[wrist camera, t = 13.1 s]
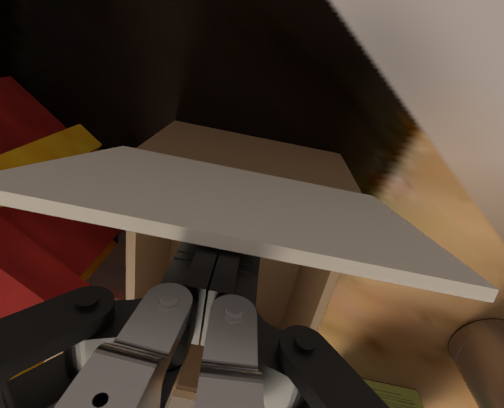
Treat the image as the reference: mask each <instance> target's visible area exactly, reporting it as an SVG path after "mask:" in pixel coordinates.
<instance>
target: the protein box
mask: <svg viewBox="0 0 504 408" xmlns="http://www.w3.org/2000/svg"><path fill="white" fill-rule="evenodd" d="M363 380H364V381H365V382H366V383H367V384H368V385H369V386H370V387H371V389H372V390H373V391H374V392H375V393H376V394H377V395H378V396H379V397H380V398H381V399H382V400H383V401H384V402H385V403H386V404H387V405H388V407H389V408H424V407H423V405H422V402H421V399H420V396H419V394H418V391H417V390H413V389H408V388H403V387H399V386H394V385H389V384H384V383H380V382H375V381H370V380H366V379H363Z"/></svg>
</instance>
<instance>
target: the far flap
mask: <svg viewBox="0 0 504 408" xmlns="http://www.w3.org/2000/svg"><path fill="white" fill-rule="evenodd" d="M194 405H195V400H190V399H184V398H180V397H174V396H172V399H171V401H170V404H169V407H168V408H194Z"/></svg>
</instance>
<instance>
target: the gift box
mask: <svg viewBox="0 0 504 408" xmlns="http://www.w3.org/2000/svg"><path fill="white" fill-rule="evenodd" d="M101 146H102V144H101V143H100V142H99V141H98V140H97V139H96V138H95V137H94V136H92V135H91V134H90V133H89V132H88V131H87V130H86V129H85V128H84V127H83V126H82V125H81V124H78V125H75V126H73V127H70V128H66V127H65V126H64V125H63V124H62V123H61V122H60V121H59V120H58V119H57V118H55V117H54V116H53V115H52V114H51V113H50V112H49V111H48V110H47V109H46V108H45V107H44V106H42V105H41V104H40V103H39V102H38V101H37V100H36V99H35V98H34V97H33V96H32V95H31V94H30V93H28V92H27V91H26V90H25V89H24V88H23V87H22V86H21V85H20V84H19V83H18V82H17V81H15V80H14V79H13V78H12V77H11V76H8V77H0V170H5V169H10V168H15V167H20V166H25V165H30V164H35V163H40V162H45V161H50V160H55V159H60V158H65V157H70V156H75V155H80V154H85V153H90V152H95V151H97V150H98V149H99V148H100V147H101ZM121 230H122V229H117V228H112V227H107V226H102V225H97V224H92V223H87V222H82V221H76V220H71V219H66V218H61V217H56V216H51V215H46V214H41V213H36V212H31V211H26V210H21V209H16V208H11V207H6V206H1V205H0V318H3V317H5V316H8V315H10V314H13V313H15V312H18V311H21V310H23V309H26V308H28V307H31V306H34V305H36V304H39V303H41V302H44V301H46V300H49V299H52V298H54V297H57V296H59V295H62V294H64V293H67V292H70V291H72V290H75V289H78V288H81V287H85V286H91V285H89V284H88V283H87V282H86V281H87V280H88V279H89V277H90V276H91V275H92V274H93V273H94V271H95V270H96V269H97V268H98V266H99V265H100V264H101V263H102V262H103V260H104V259H105V258H106V257H107V256H108V254H109V253H110V252H111V251H112V250H113V248H114V247H115V246H116V245H117V243H116V242H115V241H114V240H113V239H114V238H115V236H116V235H117V234H118V233H119V232H120V231H121ZM44 361H45V360H44ZM44 361H42V362H40V363H38V364H36V365H34V366H32V367H30V368H28V369H26V370H24V371H22V372H20V373H19V374H17V375H15V376H14V377H12V378H11V379H13V378H15V377H17V376H19V375H21V374H23V373H25V372H27V371H29V370H31V369H33V368H35V367H36V366H38V365H40V364H42V363H43V362H44ZM11 379H10V380H11Z"/></svg>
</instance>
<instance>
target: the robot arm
mask: <svg viewBox="0 0 504 408" xmlns="http://www.w3.org/2000/svg"><path fill="white" fill-rule="evenodd" d="M259 264H260V257H258V256H253V255H248V254H243V253H238V252H233V251H228V250H223V249H218V248H213V247H208V246H203V245H197V244H192V243H187V242H182V243H181V244H180V246H179V248H178V250H177V252H176V254H175V256H174V259H173V260H172V262H171V264H170V266H169V268H168V270H167V272H166V274H165V276H164V278H163V280H162V282H161V284H159V285H156V286H154V287H152V288H151V289H150V290H148V292H147V293H146V294H145V296H144V297H142V298H139V299H132V300H116V301H115V300H114V295H113V294H112V292H111V291H110V290H108V289H106V288H104V287H100V286H85V287H81V288H78V289H75V290H72V291H70V292H67V293H64V294H62V295H59V296H57V297H54V298H52V299H49V300H46V301H44V302H41V303H39V304H36V305H34V306H31V307H28V308H26V309H23V310H21V311H18V312H15V313H13V314H10V315H8V316H5V317H3V318H0V408H168V407H169V404H170V401H171V399H172V396H173V394H174V391H175V389H176V386H177V384H178V381H179V378H180V376H181V373H182V371H183V368H184V365H185V359H186V358H187V355H188V352H189V349H190V346H191V344H195V345H199V341H200V337H201V334H202V339H201V345H202V346H204V350H203V357H202V363H201V368H200V374H199V381H198V387H197V393H196V399H195V405H194V408H389V407H388V405H387V404H386V403H385V402H384V401H383V400H382V399H381V398H380V397H379V396H378V395H377V394H376V393H375V392H374V391H373V390H372V389H371V387H370V386H369V385H368V384H367V383H366V382H365V381H364V380H363V379H362V378H361V377H360V376H359V375H358V374H357V373H356V372H355V370H354V369H353V368H352V367H351V366H350V365H349V364H348V363H347V362H346V361H345V360H344V359H343V358H342V357H341V356H340V355H339V353H338V352H337V351H336V350H335V349H334V348H333V347H332V346H331V345H330V344H329V343H328V342H327V341H326V340H325V339H324V338H323V337H322V336H321V335H320V334H319V333H318V332H317V331H315V330H313V329H312V328H309V327H306V326H302V325H293V326H290V327H287V328H286V329H285V330H283V331H282V330H280V329H278V328H276V327H274V326H272V325H270V324H268V323H267V322H266V321H265V320H263V319H262V317H261V316H260V315H259V313H258V311H257V308H256V297H257V286H258V274H259ZM202 330H203V332H202ZM448 349H449V353H450V355H451V357H452V359H453V360H454V362H455V364H456V366H457V368H458V370H459V372H460V373H461V375H462V377H463V379H464V381H465V383H466V385H467V387H468V388H469V390H470V392H471V394H472V396H473V398H474V399H475V401H476V403H477V405H478V407H479V408H504V321H503V320H498V319H488V320H480V321H476V322H473V323H471V324H468V325H466V326H464V327H463V328H461V329H460V330H458V331H457V332H456V333H455V334H454V335H453V336H452V338H451V340H450V342H449V346H448ZM62 351H63V353H62V354H60V355H58V356H56V357H54V358H52V359H50V360H48V361H47V362H45V363H42V364H40V365H38V366H36V367H35V368H33V369H31V370H29V371H27V372H25V373H23V374H21V375H19V376H17V377H15V378H13V379H11V378H12V377H14V376H15V375H17V374H19V373H20V372H22V371H24V370H26V369H28V368H30V367H32V366H34V365H36V364H38V363H40V362H42V361H44V360H46V359H48V358H50V357H52V356H54V355H56V354H58V353H60V352H62ZM10 379H11V380H10Z"/></svg>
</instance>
